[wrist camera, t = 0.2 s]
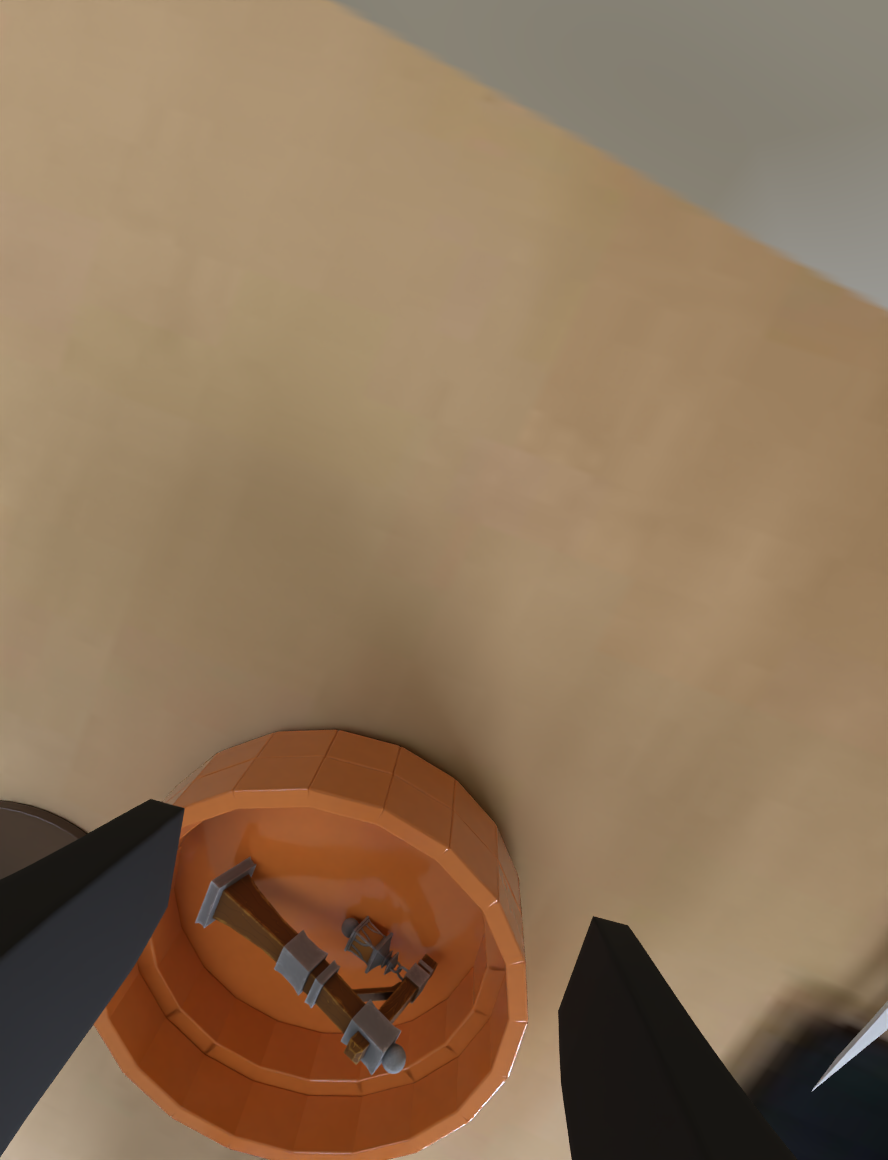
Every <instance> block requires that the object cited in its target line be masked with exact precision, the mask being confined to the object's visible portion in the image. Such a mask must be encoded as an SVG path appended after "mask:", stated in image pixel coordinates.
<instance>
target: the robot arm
mask: <svg viewBox="0 0 888 1160" xmlns="http://www.w3.org/2000/svg"><path fill="white" fill-rule="evenodd" d="M184 810H185V808H183V807H179V806H175V805H171V804H167V803H164V802H160V801H156V800H152V799H150V800H148V801H146V802H144V803H142V804H141V805H139V806H137V807H135V808H133V809H131V810H129V811H128V812H126V813H124V814H122V815H120V816H119V817H117V818H115V819H113V820H111V821H110V822H108V823H106V824H104V825H103V826H101V827H99V828H97V829H95V830H94V831H92V832H90V833H88V834H86V835H85V836H83V837H81V838H79V839H77V840H76V841H74V842H72V843H70V844H68V845H66V846H64V847H63V848H61V849H59V850H57V851H55V852H53V853H51V854H49V855H48V856H46V857H44V858H42V859H40V860H38V861H36V862H35V863H33V864H31V865H29V866H27V867H25V868H23V869H21V870H19V871H17V872H15V873H13V874H11V875H9V876H7V877H5V878H3V879H1V880H0V1157H1V1155H2V1154H3V1152H4V1151H5V1149H6V1148H7V1146H8V1145H9V1143H10V1142H11V1140H12V1139H13V1137H14V1136H15V1134H16V1133H17V1131H18V1130H19V1128H20V1127H21V1125H22V1124H23V1122H24V1121H25V1119H26V1118H27V1117H28V1115H29V1114H30V1112H31V1111H32V1110H33V1108H34V1107H35V1105H36V1104H37V1103H38V1101H39V1100H40V1098H41V1097H42V1096H43V1094H44V1093H45V1091H46V1090H47V1089H48V1087H49V1086H50V1084H51V1083H52V1082H53V1080H54V1079H55V1077H56V1076H57V1075H58V1073H59V1072H60V1070H61V1069H62V1068H63V1066H64V1065H65V1063H66V1062H67V1061H68V1059H69V1058H70V1056H71V1055H72V1054H73V1052H74V1051H75V1049H76V1048H77V1047H78V1045H79V1044H80V1042H81V1041H82V1040H83V1038H84V1037H85V1036H86V1034H87V1033H88V1031H89V1030H90V1029H91V1027H92V1026H93V1024H94V1023H95V1022H96V1020H97V1019H98V1017H99V1016H100V1014H101V1013H102V1012H103V1010H104V1009H105V1007H106V1006H107V1005H108V1003H109V1002H110V1000H111V999H112V998H113V996H114V995H115V993H116V992H117V990H118V989H119V988H120V986H121V985H122V983H123V982H124V980H125V979H126V978H127V976H128V975H129V973H130V972H131V970H132V969H133V967H134V966H135V964H136V962H137V961H138V959H139V957H140V955H141V954H142V952H143V950H144V948H145V947H146V945H147V943H148V942H149V940H150V938H151V936H152V934H153V933H154V931H155V929H156V927H157V925H158V924H159V922H160V920H161V918H162V916H163V915H164V913H165V911H166V909H167V907H168V902H169V896H170V891H171V885H172V879H173V873H174V868H175V862H176V856H177V851H178V845H179V839H180V833H181V828H182V822H183V816H184ZM558 1018H559V1051H560V1071H561V1086H562V1093H563V1101H564V1108H565V1115H566V1122H567V1129H568V1136H569V1143H570V1150H571V1157H572V1160H797V1159H796V1157H795V1156H794V1155H793V1154H792V1152H791V1151H790V1150H789V1149H788V1148H787V1146H786V1145H785V1144H784V1143H783V1141H782V1140H781V1139H780V1138H779V1136H778V1135H777V1134H776V1133H775V1131H774V1130H773V1129H772V1128H771V1126H770V1125H769V1124H768V1122H767V1121H766V1120H765V1118H764V1117H763V1116H762V1115H761V1113H760V1112H759V1111H758V1109H757V1108H756V1107H755V1105H754V1104H753V1103H752V1101H751V1100H750V1099H749V1098H748V1096H747V1095H746V1094H745V1092H744V1091H743V1090H742V1088H741V1087H740V1086H739V1085H738V1083H737V1082H736V1081H735V1079H734V1078H733V1076H732V1075H731V1074H730V1072H729V1071H728V1070H727V1068H726V1067H725V1065H724V1064H723V1063H722V1061H721V1060H720V1059H719V1057H718V1056H717V1054H716V1053H715V1052H714V1050H713V1049H712V1047H711V1046H710V1045H709V1043H708V1042H707V1040H706V1039H705V1038H704V1036H703V1035H702V1033H701V1032H700V1030H699V1029H698V1028H697V1026H696V1025H695V1023H694V1022H693V1020H692V1019H691V1017H690V1016H689V1015H688V1013H687V1012H686V1010H685V1009H684V1007H683V1006H682V1004H681V1003H680V1001H679V1000H678V998H677V997H676V995H675V994H674V993H673V991H672V990H671V988H670V987H669V985H668V984H667V982H666V981H665V979H664V978H663V976H662V975H661V973H660V972H659V970H658V969H657V967H656V966H655V964H654V963H653V961H652V960H651V958H650V957H649V955H648V954H647V952H646V951H645V949H644V948H643V946H642V945H641V943H640V942H639V940H638V939H637V938H636V936H635V935H634V933H633V932H632V930H631V929H630V928H629V926H628V925H624V924H620V923H617V922H613V921H609V920H605V919H602V918H598V917H594V916H593V918H592V921H591V923H590V926H589V929H588V932H587V934H586V937H585V940H584V942H583V945H582V948H581V951H580V953H579V956H578V959H577V961H576V964H575V967H574V970H573V972H572V975H571V978H570V980H569V983H568V986H567V989H566V991H565V994H564V997H563V999H562V1002H561V1005H560V1008H559V1010H558Z"/></svg>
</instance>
